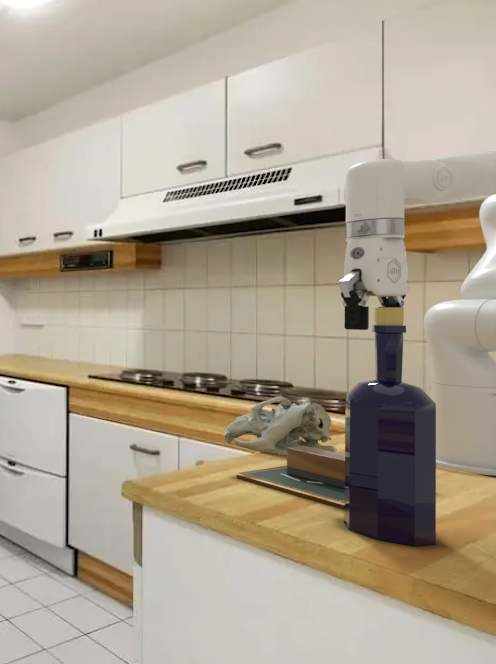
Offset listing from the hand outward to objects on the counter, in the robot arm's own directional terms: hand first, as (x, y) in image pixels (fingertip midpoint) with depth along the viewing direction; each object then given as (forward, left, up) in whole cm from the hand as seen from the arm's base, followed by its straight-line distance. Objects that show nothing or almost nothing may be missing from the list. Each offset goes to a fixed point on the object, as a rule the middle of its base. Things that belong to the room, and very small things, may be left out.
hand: (373, 329), depth 96 cm
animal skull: (-1, -17, -26) cm, 31 cm away
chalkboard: (+12, 0, -26) cm, 29 cm away
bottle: (+27, +15, -26) cm, 41 cm away
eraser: (+13, 0, -25) cm, 28 cm away
